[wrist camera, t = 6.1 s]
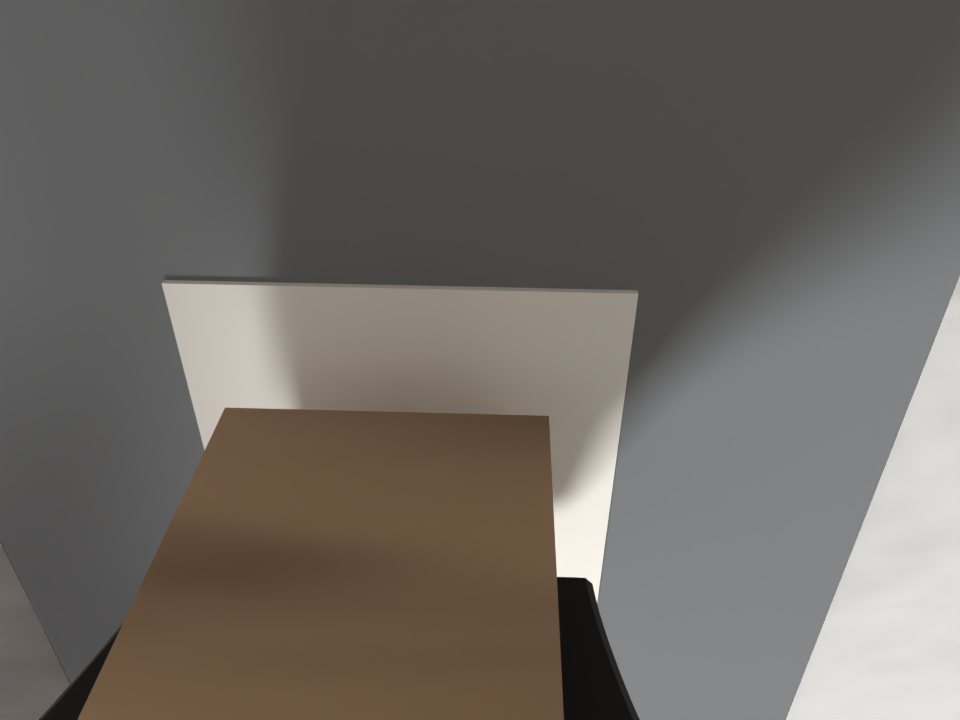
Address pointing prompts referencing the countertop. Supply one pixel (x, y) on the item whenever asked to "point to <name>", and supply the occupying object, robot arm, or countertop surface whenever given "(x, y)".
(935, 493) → the countertop surface
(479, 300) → the grey mat
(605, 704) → the robot arm
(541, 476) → the walnut block
